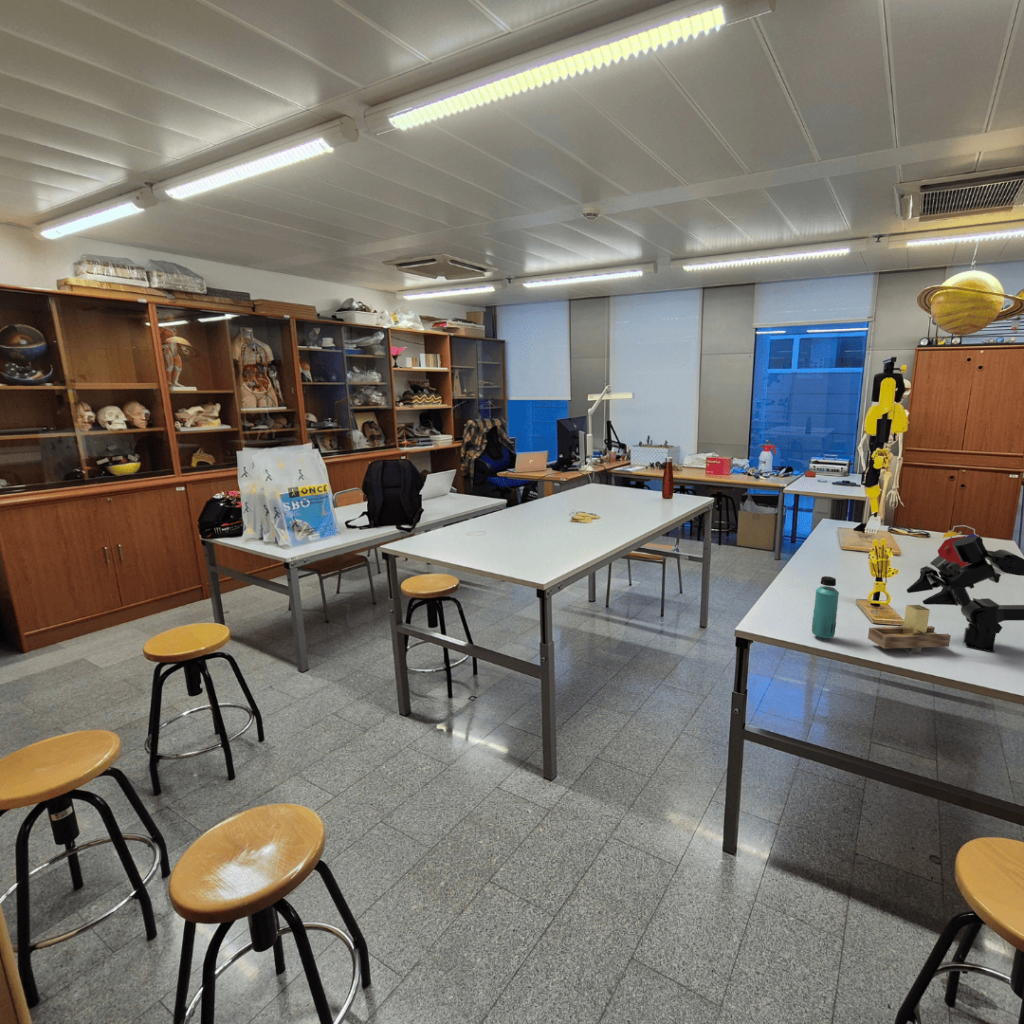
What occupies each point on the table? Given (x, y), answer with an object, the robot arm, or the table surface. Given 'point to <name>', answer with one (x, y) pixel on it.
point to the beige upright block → (915, 620)
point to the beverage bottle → (825, 609)
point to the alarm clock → (952, 547)
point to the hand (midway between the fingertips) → (915, 597)
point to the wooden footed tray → (907, 639)
